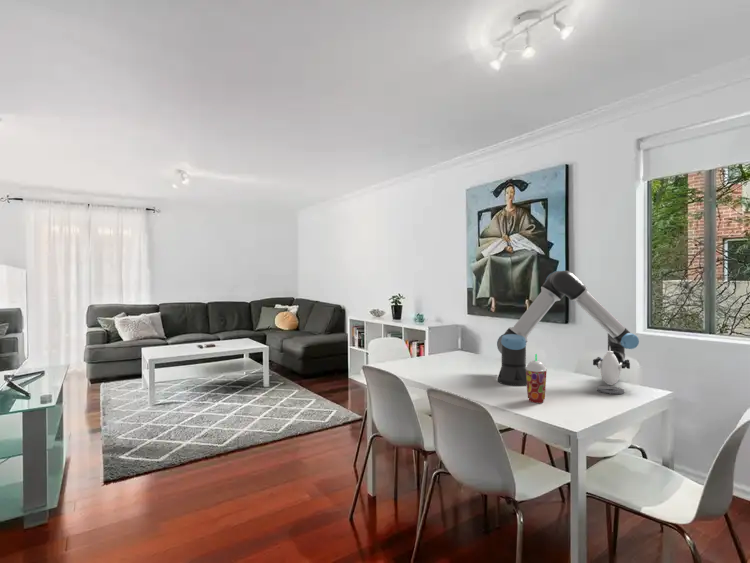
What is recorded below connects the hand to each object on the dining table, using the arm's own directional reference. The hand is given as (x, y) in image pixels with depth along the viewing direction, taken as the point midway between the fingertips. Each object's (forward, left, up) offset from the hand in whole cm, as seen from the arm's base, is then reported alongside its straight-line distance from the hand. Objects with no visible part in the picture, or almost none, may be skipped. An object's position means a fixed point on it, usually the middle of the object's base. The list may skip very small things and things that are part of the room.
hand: (609, 366), depth 193 cm
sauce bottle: (+5, +1, -9) cm, 10 cm away
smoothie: (-35, +18, -12) cm, 41 cm away
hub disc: (+5, +1, -12) cm, 13 cm away
